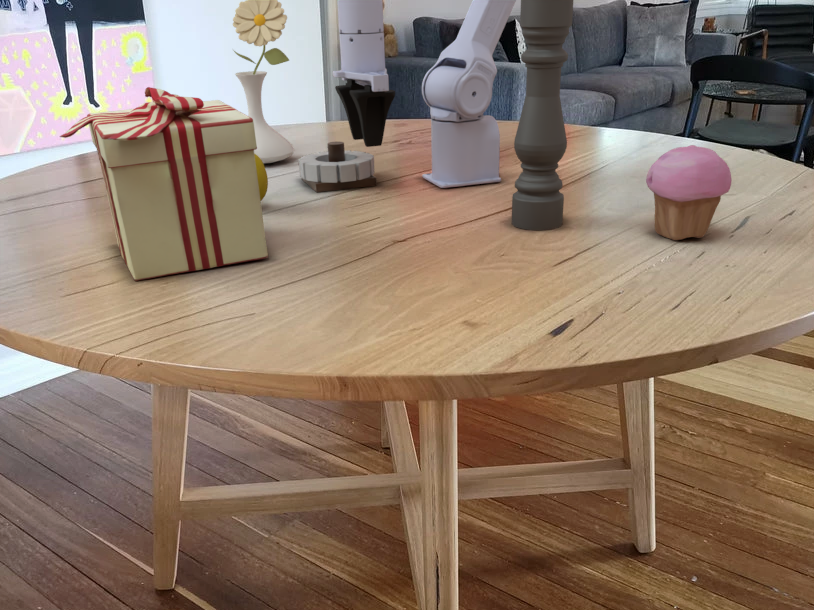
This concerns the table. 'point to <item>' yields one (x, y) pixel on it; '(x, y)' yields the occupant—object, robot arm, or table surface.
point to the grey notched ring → (336, 167)
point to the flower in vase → (260, 26)
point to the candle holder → (541, 116)
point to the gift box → (180, 183)
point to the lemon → (261, 177)
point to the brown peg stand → (338, 155)
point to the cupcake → (687, 190)
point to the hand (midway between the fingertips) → (367, 142)
